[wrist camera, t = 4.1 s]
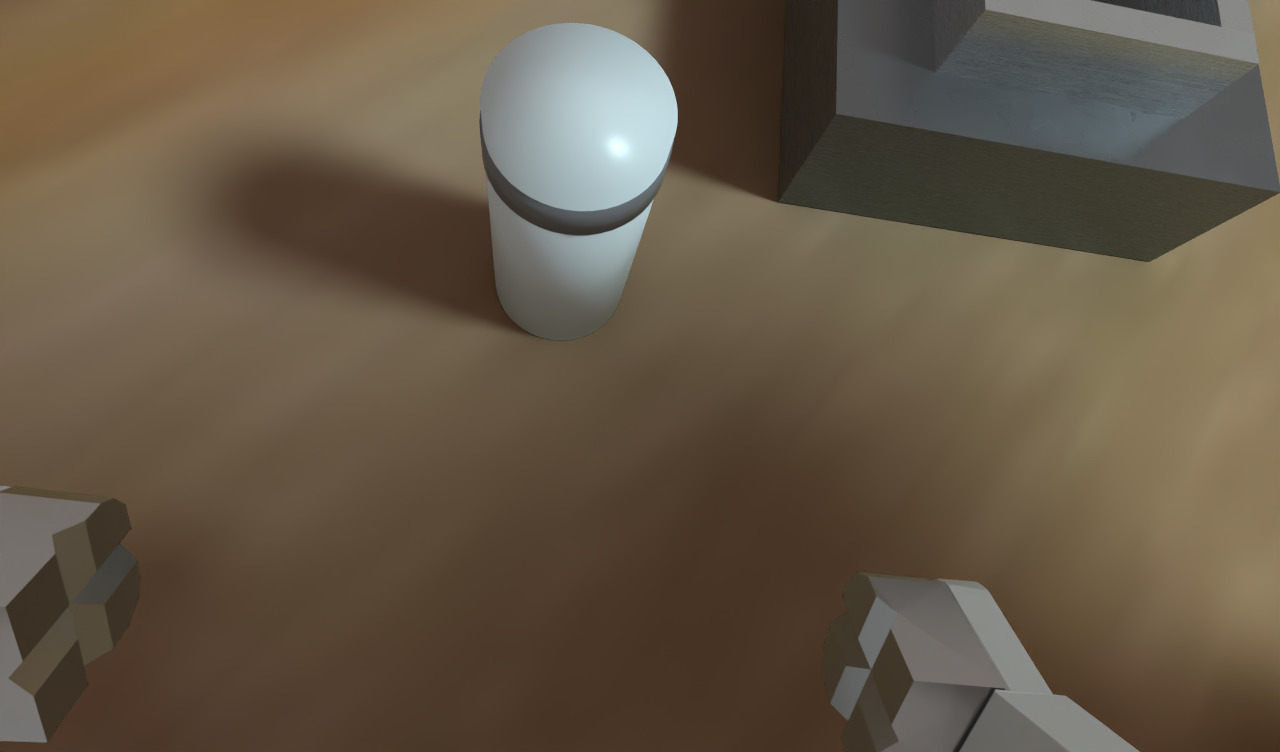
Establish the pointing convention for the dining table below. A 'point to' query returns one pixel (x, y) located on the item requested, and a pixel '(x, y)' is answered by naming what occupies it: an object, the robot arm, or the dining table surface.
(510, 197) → the dome-capped cylinder
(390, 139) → the dining table surface
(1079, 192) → the square socket base
